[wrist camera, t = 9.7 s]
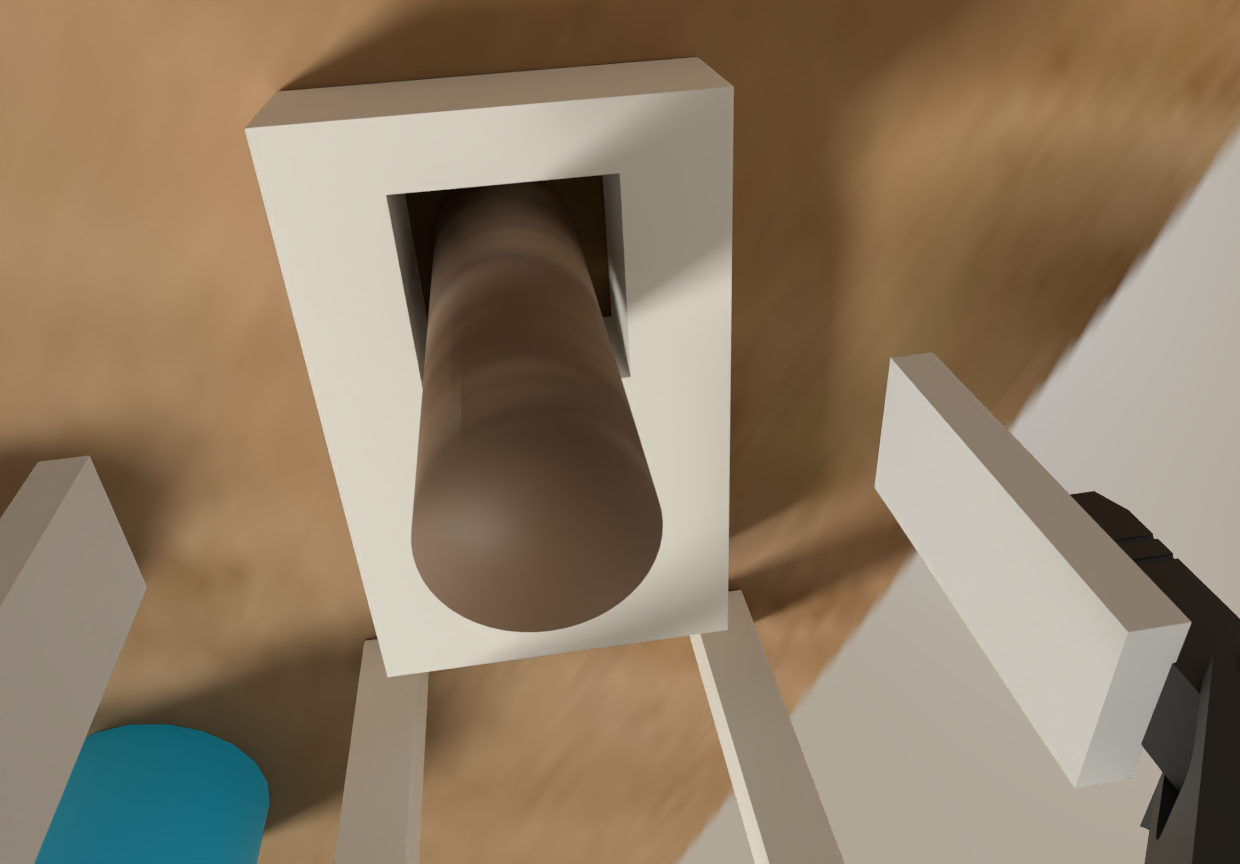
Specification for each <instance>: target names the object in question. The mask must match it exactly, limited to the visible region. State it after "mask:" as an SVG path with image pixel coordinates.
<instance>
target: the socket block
mask: <svg viewBox="0 0 1240 864" xmlns="http://www.w3.org/2000/svg"><path fill="white" fill-rule="evenodd" d="M733 123H734V86H733V85H731V84H730V83H729V82H728V81H726V80H725V79H724V78H723V77H722V76H720V75H719V74H718V73H717V72H715V71H714V70H713V69H712V68H711V67H709V66H708V65H707V64H706V63H704V62H703V61H702V60H701V59H700V58H698V57H691V58H679V59H667V60H655V61H643V62H631V63H618V64H606V65H594V66H582V67H570V68H557V69H545V70H533V71H521V72H509V73H497V74H484V75H472V76H460V77H448V78H436V79H424V80H411V81H399V82H387V83H375V84H363V85H351V86H338V87H326V88H314V89H302V90H290V91H278V92H276V93H275V94H274V95H273V96H272V98H271V99H270V100H269V101H268V102H267V103H266V104H265V106H264V107H263V108H262V109H261V110H260V111H259V112H258V114H257V115H256V116H255V117H254V118H253V119H252V120H251V122H250V123H249V124H248V125H247V126H246V127H245V132H246V136H247V140H248V144H249V147H250V151H251V155H252V159H253V163H254V167H255V170H256V174H257V178H258V182H259V186H260V190H261V193H262V197H263V201H264V205H265V209H266V213H267V216H268V220H269V224H270V228H271V232H272V236H273V239H274V243H275V247H276V251H277V255H278V259H279V262H280V266H281V270H282V274H283V278H284V282H285V285H286V289H287V293H288V297H289V301H290V305H291V308H292V312H293V316H294V320H295V324H296V328H297V332H298V335H299V339H300V343H301V347H302V351H303V355H304V358H305V362H306V366H307V370H308V374H309V378H310V381H311V385H312V389H313V393H314V397H315V401H316V404H317V408H318V412H319V416H320V420H321V424H322V427H323V431H324V435H325V439H326V443H327V447H328V450H329V454H330V458H331V462H332V466H333V470H334V473H335V477H336V481H337V485H338V489H339V493H340V496H341V500H342V504H343V508H344V512H345V516H346V519H347V523H348V527H349V531H350V535H351V539H352V542H353V546H354V550H355V554H356V558H357V562H358V565H359V569H360V573H361V577H362V581H363V585H364V588H365V592H366V596H367V600H368V604H369V608H370V611H371V615H372V619H373V623H374V627H375V631H376V635H377V638H378V642H379V646H380V650H381V654H382V658H383V661H384V665H385V669H386V673H387V677H394V676H401V675H408V674H415V673H422V672H429V671H437V670H444V669H451V668H458V667H465V666H473V665H480V664H487V663H494V662H501V661H508V660H516V659H523V658H530V657H537V656H544V655H552V654H559V653H566V652H573V651H580V650H587V649H595V648H602V647H609V646H616V645H623V644H631V643H638V642H645V641H652V640H659V639H666V638H674V637H681V636H688V635H695V634H702V633H710V632H717V631H724V630H728V563H729V475H730V387H731V299H732V211H733ZM596 175H603V190H604V206H605V222H606V237H607V253H608V269H609V285H610V301H611V316H609V317H603V321H604V324H605V327H606V330H607V334H608V337H609V340H610V343H611V347H612V350H613V353H614V356H615V360H616V363H617V366H618V369H619V373H620V376H621V379H622V382H623V386H624V389H625V392H626V395H627V399H628V402H629V405H630V408H631V412H632V415H633V418H634V421H635V425H636V428H637V431H638V434H639V438H640V441H641V444H642V447H643V451H644V454H645V457H646V460H647V464H648V467H649V470H650V474H651V477H652V480H653V483H654V487H655V490H656V493H657V496H658V500H659V503H660V507H661V511H662V519H663V532H662V540H661V544H660V549H659V552H658V554H657V557H656V560H655V562H654V564H653V566H652V567H651V569H650V571H649V573H648V574H647V576H646V577H645V578H644V580H643V581H642V582H641V584H640V585H639V586H638V587H637V588H636V589H635V590H634V591H633V592H632V593H631V594H630V595H629V596H628V597H627V598H626V599H624V600H623V601H622V602H621V603H619V604H618V605H616V606H615V607H613V608H612V609H610V610H609V611H607V612H605V613H604V614H602V615H600V616H598V617H596V618H594V619H591V620H589V621H586V622H584V623H581V624H578V625H575V626H571V627H568V628H564V629H558V630H553V631H545V632H513V631H505V630H500V629H495V628H490V627H487V626H484V625H481V624H478V623H475V622H473V621H471V620H469V619H466V618H464V617H462V616H461V615H459V614H457V613H456V612H454V611H452V610H451V609H449V608H448V607H447V606H446V605H444V604H443V603H442V602H441V601H440V600H439V599H438V598H437V597H436V596H435V595H434V594H433V593H432V592H431V591H430V590H429V588H428V587H427V585H426V584H425V583H424V581H423V580H422V578H421V576H420V574H419V572H418V570H417V567H416V564H415V561H414V558H413V553H412V546H411V529H412V516H413V503H414V491H415V478H416V466H417V453H418V441H419V428H420V416H421V403H422V391H423V378H424V366H425V353H426V341H427V328H428V320H427V315H426V309H425V303H424V298H423V292H422V286H421V281H420V275H419V270H418V264H417V258H416V253H415V247H414V241H413V236H412V230H411V225H410V219H409V213H408V208H407V202H406V197H405V193H413V192H424V191H435V190H445V189H456V188H467V187H478V186H488V185H499V184H510V183H521V182H531V181H542V180H553V179H564V178H574V177H585V176H596Z"/></svg>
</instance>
